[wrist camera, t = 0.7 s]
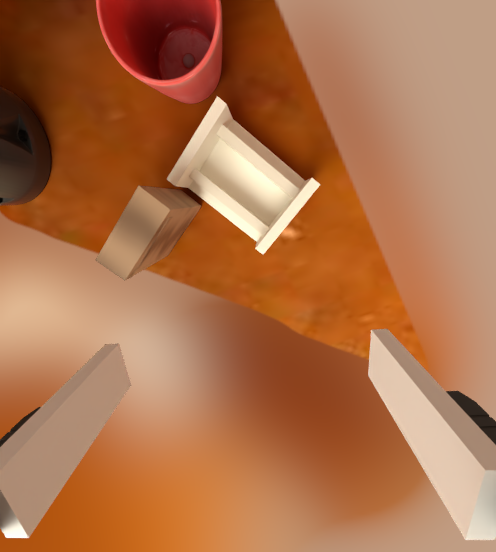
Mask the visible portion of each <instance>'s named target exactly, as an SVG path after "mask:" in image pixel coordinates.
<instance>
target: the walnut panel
mask: <svg viewBox="0 0 496 552" xmlns="http://www.w3.org/2000/svg"><path fill="white" fill-rule="evenodd" d="M200 208H201V205H200V204H199V203H197V202H196V201H195V200H193V199H192V198H191V197H190V196H188V195H187V194H186V193H184V192H183V191H182V190H178V189H168V188H158V187H148V186H138V188H137V189H136V191H135V193H134V195H133V196H132V198H131V200H130V201H129V203H128V205H127V207H126V208H125V210H124V212H123V214H122V215H121V217H120V219H119V220H118V222H117V224H116V226H115V227H114V229H113V231H112V233H111V234H110V236H109V238H108V239H107V241H106V243H105V245H104V246H103V248H102V250H101V251H100V253H99V255H98V257H97V258H96V261H98V262H99V263H100V264H102V265H103V266H105V267H106V268H107V269H109V270H110V271H112V272H113V273H115V274H116V275H117V276H119V277H120V278H122V279H123V280H127V279H128V278H130V277H132V276H133V275H135V274H137V273H139V272H141V271H142V270H144V269H146V268H147V267H149V266H151V265H152V264H154V263H156V262H158V261H159V260H161V259H163V258H164V257H166V256H168V255H169V253H170V252H171V250H172V249H173V247H174V246H175V244H176V243H177V241H178V240H179V239H180V237H181V236H182V234H183V233H184V231H185V230H186V228H187V227H188V225H189V224H190V222H191V221H192V219H193V218H194V217H195V215H196V214H197V212H198V211H199V209H200Z"/></svg>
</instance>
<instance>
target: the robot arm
mask: <svg viewBox="0 0 496 552" xmlns="http://www.w3.org/2000/svg"><path fill="white" fill-rule="evenodd" d="M50 168H51V155H50V148H49V144H48V140H47V137H46V134H45V132H44V130H43V127H42V126H41V124H40V122H39V120H38V118H37V117H36V116H35V114H34V113H33V111H32V110H31V109H30V108H29V107H28V106H27V104H26V103H25V102H24V101H22V100H21V99H20V98H19V97H18V96H17V95H15V94H14V93H12V92H11V91H9V90H7V89H5V88H3V87H1V86H0V205H19V204H24V203H27V202H29V201H31V200H33V199H34V198H35V197H37V196H38V195H39V194H40V193H41V191H42V190H43V189H44V187H45V185H46V183H47V181H48V178H49V174H50ZM368 376H369V378H370V379H371V381H372V383H373V384H374V386H375V388H376V389H377V391H378V393H379V395H380V396H381V398H382V400H383V401H384V403H385V405H386V406H387V408H388V410H389V411H390V413H391V415H392V416H393V418H394V420H395V422H396V423H397V425H398V427H399V428H400V430H401V432H402V433H403V435H404V437H405V439H406V440H407V442H408V444H409V445H410V447H411V449H412V450H413V452H414V454H415V455H416V457H417V459H418V461H419V462H420V464H421V466H422V467H423V469H424V471H425V472H426V474H427V476H428V477H429V479H430V481H431V482H432V484H433V486H434V488H435V489H436V491H437V493H438V494H439V496H440V498H441V499H442V501H443V503H444V505H445V506H446V508H447V510H448V511H449V512H450V515H451V516H452V518H453V520H454V521H455V523H456V525H457V527H458V528H459V530H460V532H461V533H462V535H463V537H464V538H465V540H495V537H496V421H495V420H494V419H493V418H490V417H489V415H488V414H487V413H486V412H485V411H484V410H483V409H482V408H481V407H480V406H479V405H478V404H477V403H476V402H475V401H473V400H472V399H470V398H469V397H467V396H465V395H464V394H462V393H460V392H459V391H445V390H444V389H443V388H442V387H441V386H440V385H439V384H438V383H437V382H436V381H435V380H434V378H432V376H431V375H430V374H429V373H428V372H427V371H426V370H425V369H424V368H423V367H422V366H421V365H420V363H419V362H418V361H417V360H416V359H415V358H414V357H413V356H412V355H411V354H410V353H409V352H408V351H407V350H406V348H405V347H404V346H403V345H402V344H401V343H400V342H399V341H398V340H397V339H396V338H395V337H394V336H393V335H392V333H391V332H390V331H389V330H388V329H378V330H371V342H370V357H369V371H368ZM130 386H131V383H130V380H129V377H128V373H127V370H126V367H125V363H124V359H123V356H122V353H121V349H120V346H119V344H105V345H104V346H103V347H102V348H101V349H100V350H99V351H98V352H97V353H96V354H95V355H94V356H93V357H92V358H91V359H90V360H89V361H88V362H87V363H86V364H85V365H84V366H83V367H82V368H81V369H80V370H79V371H78V372H77V373H76V374H75V375H73V376H72V377H71V379H69V380H68V381H67V382H66V383H65V384H64V385H63V386H62V387H61V388H60V389H59V390H58V391H57V392H56V393H55V394H54V395H53V396H52V397H51V398H50V399H49V400H48V401H47V402H46V403H45V404H44V405H43V406H42V407H39V408H37V409H35V410H34V411H32V412H31V413H30V414H28V415H27V416H25V417H24V418H23V419H22V420H20V422H18V423H17V424H16V425H15V426H14V427H13V428H12V429H11V431H10V432H8V433H7V434H6V435H5V436H4V437H3V438H2V439H0V528H1V530H2V531H3V533H4V534H5V536H6V538H29V537H30V535H31V534H32V532H33V531H34V529H35V528H36V526H37V525H38V523H39V522H40V520H41V519H42V517H43V516H44V514H45V513H46V511H47V510H48V508H49V507H50V505H51V504H52V502H53V501H54V499H55V498H56V497H57V495H58V493H59V492H60V491H61V489H62V488H63V486H64V485H65V483H66V482H67V480H68V479H69V477H70V476H71V474H72V473H73V471H74V470H75V468H76V467H77V465H78V464H79V462H80V461H81V459H82V458H83V456H84V455H85V453H86V452H87V450H88V449H89V447H90V446H91V444H92V443H93V441H94V440H95V438H96V437H97V435H98V434H99V432H100V431H101V429H102V428H103V426H104V425H105V423H106V422H107V420H108V419H109V417H110V416H111V415H112V413H113V412H114V410H115V408H116V407H117V405H118V404H119V403H120V401H121V399H122V398H123V397H124V395H125V394H126V392H127V390H128V389H129V388H130Z"/></svg>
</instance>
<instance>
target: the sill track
mask: <svg viewBox="0 0 496 552" xmlns="http://www.w3.org/2000/svg"><path fill="white" fill-rule="evenodd" d="M167 180H168V181H169V182H171V183H172V184H173V185H175V186H178V187H186V188H189V189H190V190H192V191H193V192H194V193H196V194H197V195H198V196H199V197H201V198H202V199H203V200H204V201H206V202H207V203H208V204H210V205H211V206H212V207H213V208H215V209H216V210H217V211H218V212H220V213H221V214H222V215H224V216H225V217H226V218H227V219H229V220H230V221H231V222H232V223H234V224H235V225H236V226H237V227H239V228H240V229H241V230H243V231H244V232H245V233H246V234H248V235H249V236H250V237H251V238H253V239H254V240H255V241H257V243H256V248H255V249H257V250H258V251H259V252H260V253H262V254H264V253H265V252H266V251H267V249H268V248H269V247H270V246H271V244H272V243H273V242H274V241H275V240H276V238H277V237H278V236H279V235H280V233H281V232H282V231H283V230H284V229H285V227H286V226H287V225H288V224H289V222H290V221H291V220H292V219H293V218H294V216H295V215H296V214H297V213H298V211H299V210H300V209H301V208H302V207H303V205H304V204H305V203H306V202H307V200H308V199H309V198H310V197H311V196H312V194H313V193H314V192H315V191H316V189H317V188H318V187H319V186H320V184H319V183H318V182H317V181H315V180H314V179H313V178H310V179H308V180H306V181H305V180H304V179H303V178H301V177H300V176H299V175H298V174H297V173H296V172H294V171H293V170H292V169H291V168H290V167H289V166H287V165H286V164H285V163H284V162H283V161H282V160H280V159H279V158H278V157H277V156H276V155H275V154H273V153H272V152H271V151H270V150H269V149H267V148H266V147H265V146H264V145H263V144H262V143H260V142H259V141H258V140H257V139H256V138H255V137H253V136H252V135H251V134H250V133H249V132H248V131H246V130H245V129H244V128H243V127H242V126H241V125H239V124H238V123H237V122H236V121H235V120H234V119H233V118H232V116H231V113H230V111H229V108H228V106H227V104H226V103H225V102H224V101H222V100H221V99H220V98H219V97H218V96H217V98H216V99H215V101H214V103H213V104H212V106H211V107H210V109H209V111H208V112H207V114H206V116H205V117H204V119H203V121H202V122H201V124H200V125H199V127H198V129H197V130H196V132H195V134H194V135H193V137H192V139H191V140H190V142H189V143H188V145H187V147H186V148H185V150H184V152H183V153H182V155H181V157H180V158H179V160H178V161H177V163H176V165H175V166H174V168H173V170H172V171H171V173H170V175H169V176H168V178H167Z"/></svg>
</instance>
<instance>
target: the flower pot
mask: <svg viewBox="0 0 496 552" xmlns="http://www.w3.org/2000/svg"><path fill="white" fill-rule="evenodd" d="M96 7H97V15H98V20H99V24H100V28H101V31H102V34H103V36H104V39H105V41H106V43H107V45H108V47H109V49H110V50H111V52H112V54H113V55H114V56H115V58H116V59H117V60H118V62H119V63H120V64H121V65H122V66H123V67H124V68H125V69H126V70H127V71H128V72H129V73H130V74H132V75H133V76H134V77H136V78H137V79H139V80H140V81H142V82H144V83H145V84H147V85H149V86H150V87H152V88H154V89H156V90H158V91H159V92H161V93H163V94H165V95H167V96H169V97H171V98H174V99H176V100H178V101H180V102H183V103H188V104H193V103H198V102H201V101H203V100H205V99H206V98H208V97H209V96H210V95H211V94H212V93H213V91H214V90H215V89H216V87H217V85H218V82H219V79H220V75H221V65H222V8H221V0H96Z"/></svg>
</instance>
